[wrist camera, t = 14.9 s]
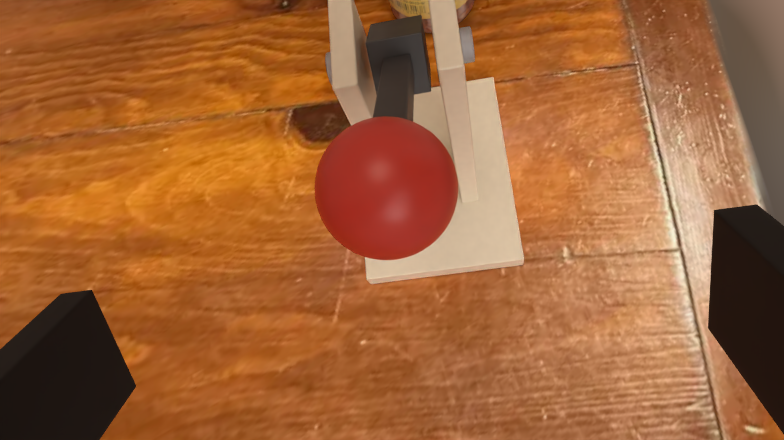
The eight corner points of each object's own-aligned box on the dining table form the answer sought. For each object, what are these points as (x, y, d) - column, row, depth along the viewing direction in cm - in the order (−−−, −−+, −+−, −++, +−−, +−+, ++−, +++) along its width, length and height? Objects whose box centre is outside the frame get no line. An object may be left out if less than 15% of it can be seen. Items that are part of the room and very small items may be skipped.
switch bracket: (523, 265, 33) (538, 150, 19) (370, 284, 34) (282, 189, 21) (493, 86, 37) (488, -111, 24) (358, 109, 39) (278, -66, 25)
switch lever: (471, 280, 14) (450, 144, 12) (325, 298, 14) (283, 170, 12) (448, 79, 26) (435, -4, 24) (369, 93, 26) (351, 12, 24)
